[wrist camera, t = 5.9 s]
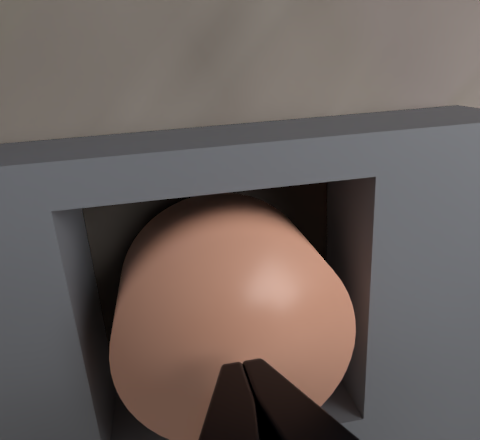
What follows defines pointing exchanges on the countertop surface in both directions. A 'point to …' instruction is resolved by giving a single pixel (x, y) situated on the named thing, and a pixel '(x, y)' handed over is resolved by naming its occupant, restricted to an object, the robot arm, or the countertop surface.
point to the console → (338, 258)
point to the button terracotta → (223, 310)
